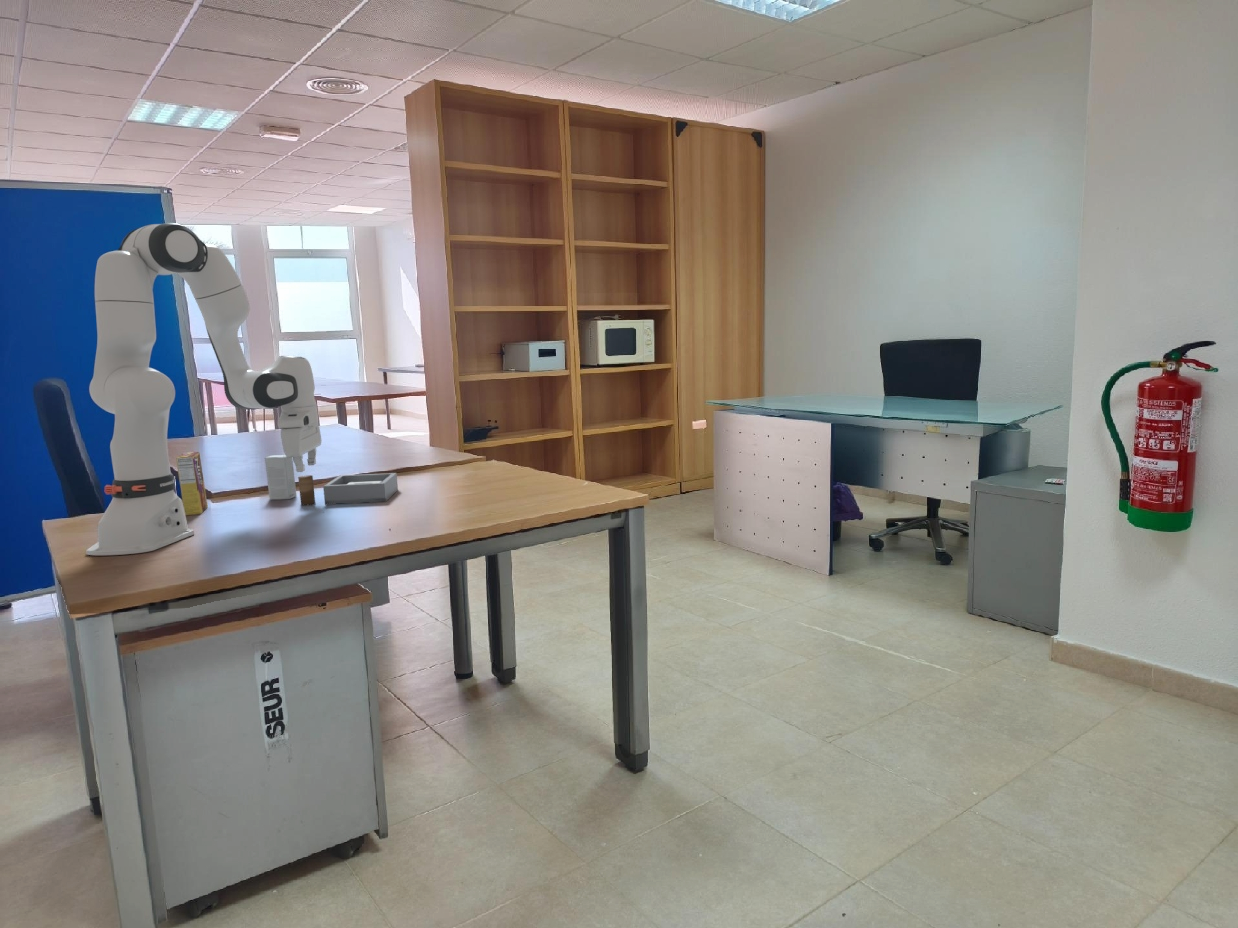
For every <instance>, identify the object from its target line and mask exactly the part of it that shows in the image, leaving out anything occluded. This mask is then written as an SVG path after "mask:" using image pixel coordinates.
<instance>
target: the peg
mask: <svg viewBox="0 0 1238 928" xmlns="http://www.w3.org/2000/svg"><path fill="white" fill-rule="evenodd" d="M297 479H298V488H299V499H300V505H301V506H312V505H316V497H315V488H314V477H313V475H312V474H311V475H310V474H307V475H300V476H298V478H297Z"/></svg>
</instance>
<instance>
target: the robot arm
mask: <svg viewBox="0 0 1238 928" xmlns="http://www.w3.org/2000/svg"><path fill="white" fill-rule="evenodd" d="M96 262H97V263H96V267H95V276H94V303H95V304H94V305H95V316H96V317H95V318H96V332H97V341H96V343H97V344H96V351H95V352H96V353H95V358H94V359H95V360H94V368H93V376H92V379H91V381H90V383H89V391H88V392H89V395H90V397H91V399H92V401H93V402H94V403H95V404H96V405H97V406H98V407H99V408H101V409H102V410H104V411H105V412H108V413H110V414H113V415H114V427H113V435H112V439H111V440H110V445H109V449H110V456H111V457H110V458H111V464H112V470H113V477H114V479H113V480H112V485H110V484H106V485H105V486H104V493H105V495H111V497H112V499H111V501H110V503H109V505H108V507H107V508H106V509H105V511H104V513H103V515H102V516H101V518H100V520H98V521H99V522H98V523H97V530H96V531H97V533H96V534H97V542H95V544H93V545H92V546H90V547H89V548H87V549H86V550H85V551H86V554H85V555H87V556H89V555H90V556H119V555H130V554H131V555H132V554H141V553H148V552H153V551H156V550H158V549H161V548H163V547H166V546H168V545H170V544H173V543H176V542H178V541H181V540H184V539H185V538H186V539H187V538H188V537H190V536H193V535H195V531H194V528H193V529H192V528H189V526H188V521H187V517H186V516H187V515H185V511H184V507H183V501H182V498H180V497H179V496H178V494H176V492H175V489H176V485H175V484H176V483H175V482H176V481H175V477H174V474H173V473H172V472H171V464H170V457H169V447H168V428H169V421H170V409H171V406H172V405H173V403H174V401H175V398H176V389H175V386H174V382H173V381H172V380H171V378H170V377H168V376H167V375H166V374H164V373H163V372H161V371H159V370H157V369H155V368H152V367H150V361H151V355H152V352H153V347H154V346H155V343H156V341H157V328H156V327H157V326H156V315H155V314H156V313H155V311H156V310H155V301H154V300H155V299H154V291H153V289H154V283H155V280H156V279H157V276H170V275H174V274H177V275H179V276H180V277H181V278H182V279H183V280H184V281H185V283H187V285H188V286H189V289H190V291H191V293H192V295H193V298H194V300H195V302H196V303H197V307H198V309H199V311H200V314H201V315H202V319H203V320H204V324H205V325H204V326H205V329H206V333H207V335H208V336H207V337H208V338H209V340H210V344H211V346H212V349H213V351H214V354H215V357H216V359H217V362H218V364H219V367H220V370H221V374H222V377H223V388H224V389H223V390H224V394H225V397H226V400H228V402H229V403H230V404H231V405H232V406H233V407H235V408H237V409H239V410H254V409H255V410H256V409H258V410H268V409H269V410H271V409H276V408H278V407H280V410H281V412H280V416H279V418H278V419H277V421H276V422H277V428H278V429H280V439H281V443H282V449H283V452H284V455H286V457H292V460H293V464H294V465H295V471H296V472H297V473H303V472H305V470H306V467H305V465H306V464H304V461H303V459H304V455H305V454H307V459H306V461H307V466H315V465H316V464H317V461H316V456H317V448H318V447H320V446H321V445H322V435H321V430H320V429H321V428H320V424H319V420H320V419H319V414H318V404H317V401H316V399H315V398H316V397H315V381H314V374H313V370H312V369H313V368H312V366H311V364H310V361H309V360H308V359H307V358H306V357H302V356H299V355H298V356H297V355H280V356H278V357H277V358H276V360H274V362H272V363H271V364H270V365H268V366H266V367H265V368H262V369H261V370H254V369H253V368H251V367H250V366H249V364H248V362H247V360H246V357H245V353H244V351H243V349H242V346H241V343H240V341H239V336H238V332H239V329H240V326H242V324H244V323H245V321H246V320H247V318H248V316H249V314H250V309H251V308H250V303H249V302H250V301H249V298H248V295H247V292H246V290H245V288H244V286H243V284H242V282H241V279H240V278H239V274H237V273H238V272H236V269H235V268H234V267H233V265H232V263H231V261H230V260H229V258H228V256H226V254H225V252H224V251H223V250H222V249H221V248H220V247H218V246H216V245H214V244H211V243H205V242H204V241H202V240H201V239H200V238H199V237H198V235H197V234H196V233H195V232H194V231H193V230H191V229H190V228H189V227H187V226H185V225H182V224H179V223H176V222H175V223H174V222H164V223H153V224H148V225H144V226H142V227H139V228H135V229H132V230H131V231H129V232H128V233H127V234H126V235H125V237H124V238H123V239H122V241H121V243H120V246H119V248H118V249H117V250H113V251H108V252H106V253H103V254H102V255H100V256H99V258H98V259H97V261H96Z"/></svg>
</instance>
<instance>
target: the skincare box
mask: <svg viewBox="0 0 1238 928" xmlns="http://www.w3.org/2000/svg"><path fill="white" fill-rule="evenodd" d="M264 463H265V464H264V465H265V470H266V471H265V472H266V479H267V489H268V498H269V500H270V501H271V500H290V499H293V498H295V497H297V487H296V480H295V471H294V461H293V457H286V455H285V454H278V455H277V454H275V455H274V454H273V455H269V456H266V457H264Z"/></svg>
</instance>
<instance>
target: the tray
mask: <svg viewBox="0 0 1238 928" xmlns="http://www.w3.org/2000/svg"><path fill="white" fill-rule="evenodd" d="M322 488H323V498H324V505H326V504H327V505H337V504H336V503H348V504H362V503H361V502H369V503H383V502H382V501H386V502H387V501H389V499H390V498H391V497H393V495H394V494H396V492H398V490H399V488H398V474H397V472H389V473H365V474H344V475H341V474H340V475H338V476H337V477H335V478H334V479H332V480H330V481H329V482H327V483H326V484H324V485H323V487H322Z"/></svg>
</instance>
